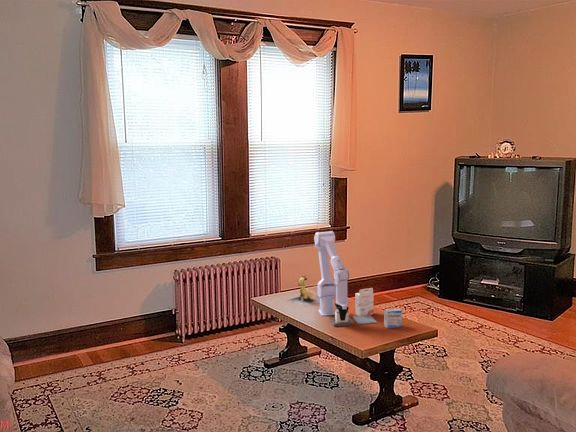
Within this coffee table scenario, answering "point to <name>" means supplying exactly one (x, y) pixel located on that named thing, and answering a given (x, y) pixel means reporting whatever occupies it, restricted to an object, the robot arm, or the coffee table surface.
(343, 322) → the holder
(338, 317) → the plug
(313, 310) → the coffee table surface
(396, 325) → the medicine box
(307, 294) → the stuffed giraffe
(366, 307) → the ink cartridge box
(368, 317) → the slate board
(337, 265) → the robot arm
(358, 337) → the coffee table surface
